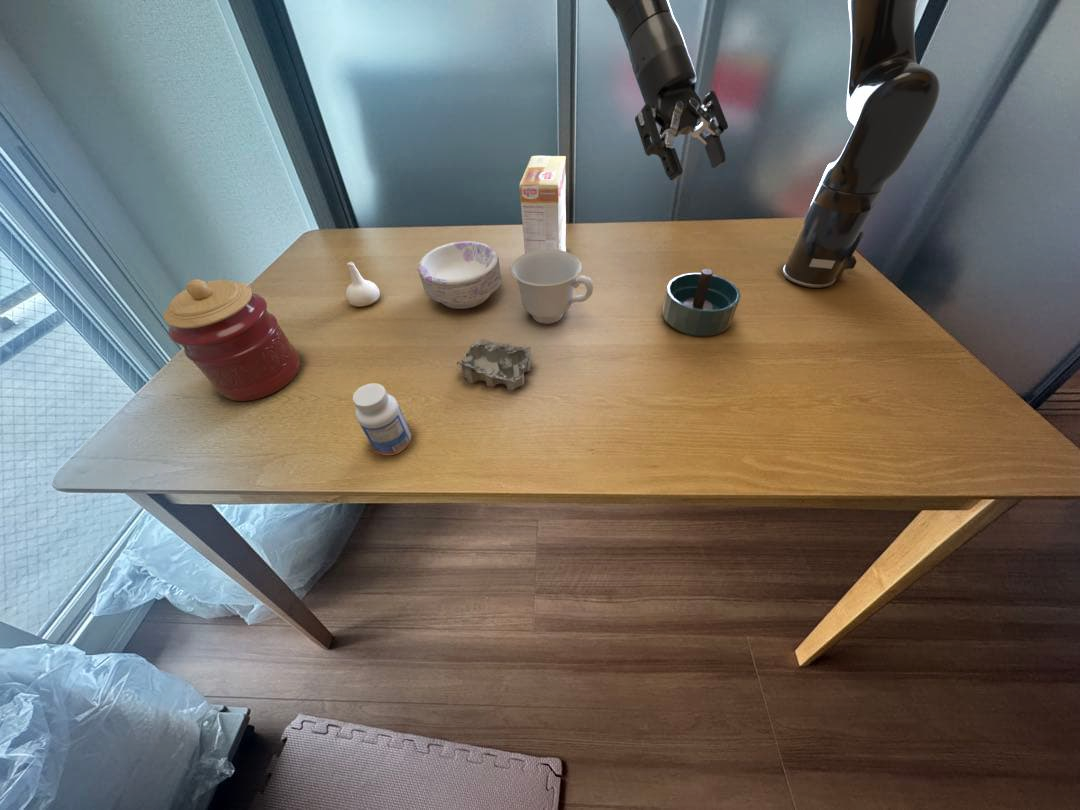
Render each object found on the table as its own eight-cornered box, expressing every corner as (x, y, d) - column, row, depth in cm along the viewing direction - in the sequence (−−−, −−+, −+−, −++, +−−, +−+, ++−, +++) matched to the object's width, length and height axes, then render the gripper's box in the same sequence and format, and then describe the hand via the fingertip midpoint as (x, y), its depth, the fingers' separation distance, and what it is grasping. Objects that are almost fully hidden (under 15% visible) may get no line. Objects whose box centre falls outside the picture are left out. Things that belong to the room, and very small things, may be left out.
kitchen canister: (222, 363, 72) (148, 270, 59) (301, 342, 76) (246, 249, 63) (215, 413, 64) (126, 319, 51) (303, 387, 67) (241, 292, 54)
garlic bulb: (357, 313, 81) (341, 276, 75) (344, 301, 84) (328, 264, 78) (387, 301, 84) (373, 264, 78) (373, 288, 87) (359, 252, 81)
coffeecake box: (536, 250, 95) (530, 155, 81) (567, 251, 94) (567, 154, 80) (525, 285, 85) (517, 184, 71) (560, 287, 84) (559, 184, 70)
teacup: (573, 347, 71) (574, 297, 64) (502, 322, 77) (496, 273, 70) (604, 311, 78) (609, 262, 71) (537, 290, 84) (535, 243, 76)
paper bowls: (412, 310, 81) (400, 272, 75) (451, 271, 90) (444, 235, 85) (481, 325, 77) (474, 287, 71) (515, 283, 86) (512, 246, 80)
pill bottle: (377, 428, 61) (352, 380, 54) (414, 424, 61) (394, 376, 54) (369, 458, 57) (342, 411, 50) (409, 455, 57) (387, 407, 50)
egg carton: (457, 382, 67) (452, 362, 64) (477, 352, 72) (472, 333, 68) (520, 394, 64) (517, 375, 61) (535, 363, 69) (534, 344, 66)
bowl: (712, 295, 80) (720, 269, 76) (743, 332, 72) (753, 305, 68) (652, 303, 79) (657, 277, 75) (676, 342, 71) (683, 315, 67)
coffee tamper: (702, 305, 77) (714, 262, 71) (714, 320, 74) (728, 277, 67) (676, 308, 77) (686, 266, 70) (687, 324, 73) (699, 281, 67)
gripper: (636, 48, 56) (678, 166, 57) (714, 36, 60) (752, 146, 62) (609, 91, 63) (647, 195, 64) (681, 77, 67) (715, 174, 69)
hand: (698, 171), depth 63 cm, fingers open, 8 cm apart
